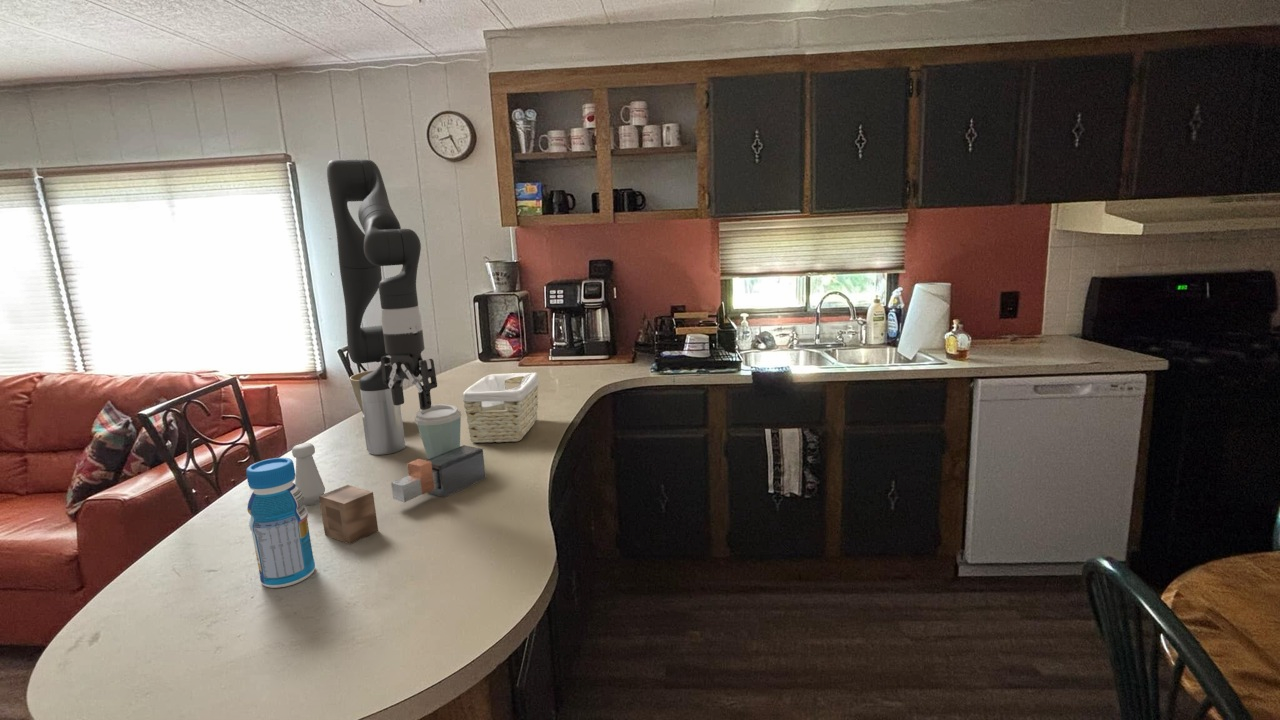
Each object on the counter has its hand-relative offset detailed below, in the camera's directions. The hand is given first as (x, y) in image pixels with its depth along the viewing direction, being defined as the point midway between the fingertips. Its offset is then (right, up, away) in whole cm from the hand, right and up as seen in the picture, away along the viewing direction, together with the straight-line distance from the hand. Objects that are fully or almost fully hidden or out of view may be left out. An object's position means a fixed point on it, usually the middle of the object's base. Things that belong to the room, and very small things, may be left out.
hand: (412, 406), depth 133 cm
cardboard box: (-8, -24, -10) cm, 27 cm away
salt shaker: (-24, -21, +6) cm, 33 cm away
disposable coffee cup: (0, -17, +22) cm, 28 cm away
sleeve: (+6, -19, +11) cm, 23 cm away
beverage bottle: (-12, -27, -25) cm, 39 cm away
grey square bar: (+3, -17, +7) cm, 19 cm away
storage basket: (+9, -11, +50) cm, 52 cm away
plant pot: (-31, -10, +61) cm, 69 cm away
